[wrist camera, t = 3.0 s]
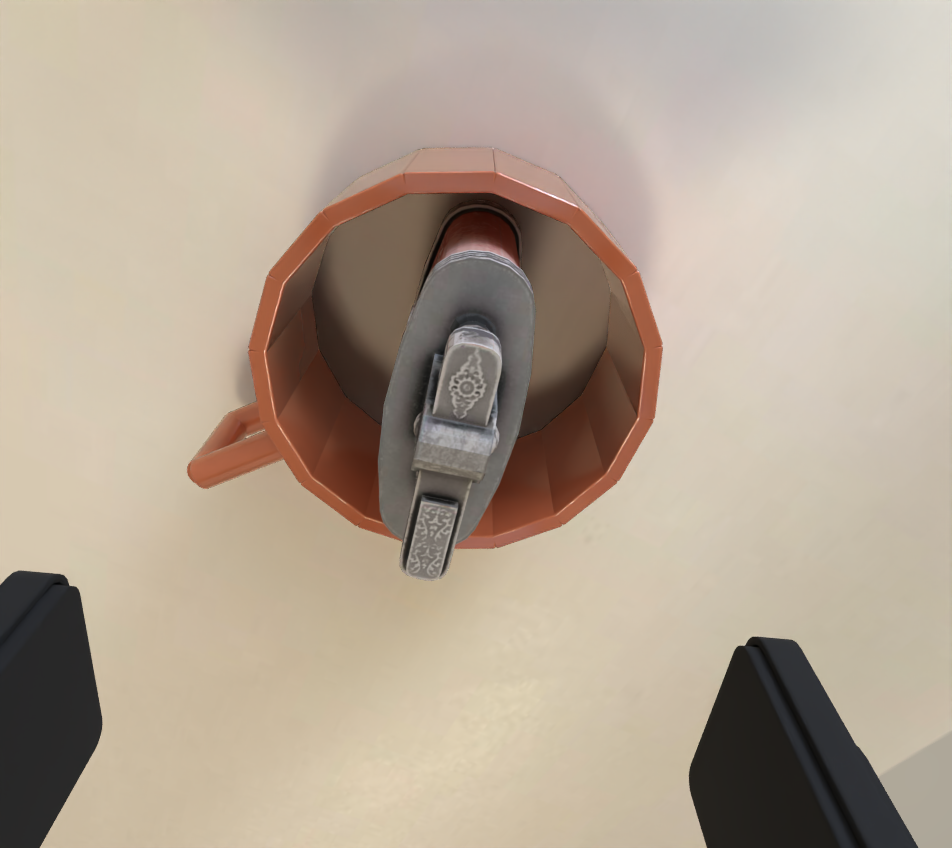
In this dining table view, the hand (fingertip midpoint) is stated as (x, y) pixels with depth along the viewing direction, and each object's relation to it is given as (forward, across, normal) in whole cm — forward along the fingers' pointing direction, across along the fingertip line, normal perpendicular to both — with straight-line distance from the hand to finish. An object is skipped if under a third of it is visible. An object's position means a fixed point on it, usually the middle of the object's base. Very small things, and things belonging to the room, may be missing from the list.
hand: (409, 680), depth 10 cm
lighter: (+16, 0, 0) cm, 16 cm away
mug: (+15, +1, 0) cm, 15 cm away
